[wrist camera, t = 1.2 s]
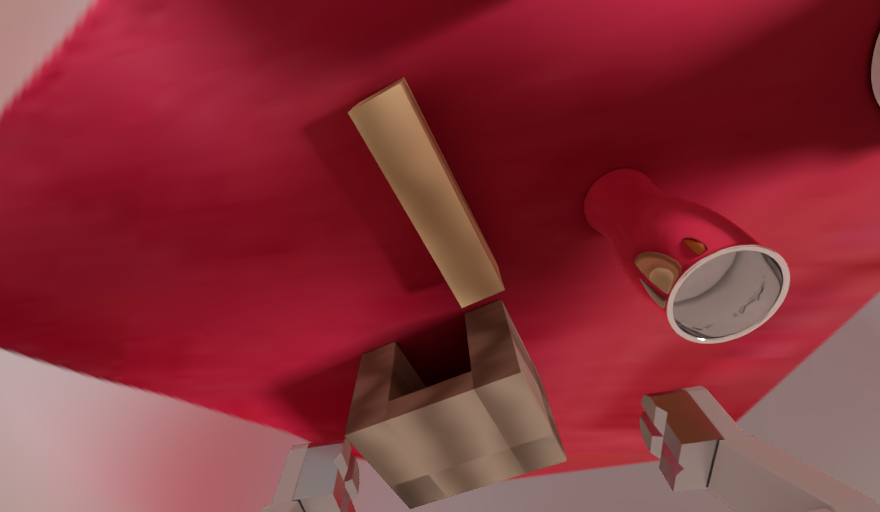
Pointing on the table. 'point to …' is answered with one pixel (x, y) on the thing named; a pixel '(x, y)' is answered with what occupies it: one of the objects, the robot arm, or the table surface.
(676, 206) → the beer glass
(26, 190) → the table surface
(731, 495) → the robot arm
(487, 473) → the end cap
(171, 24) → the table surface
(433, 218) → the slat
